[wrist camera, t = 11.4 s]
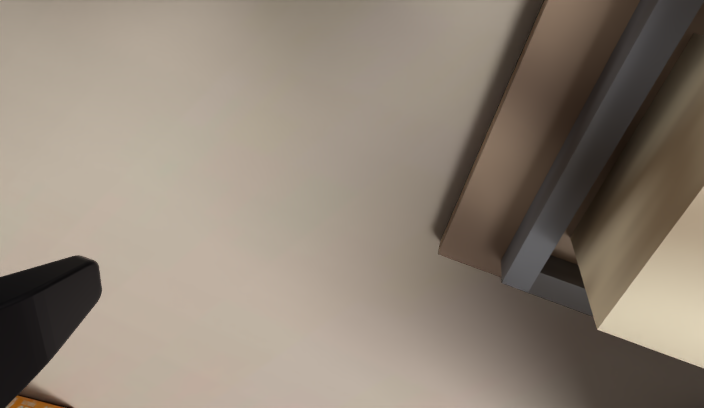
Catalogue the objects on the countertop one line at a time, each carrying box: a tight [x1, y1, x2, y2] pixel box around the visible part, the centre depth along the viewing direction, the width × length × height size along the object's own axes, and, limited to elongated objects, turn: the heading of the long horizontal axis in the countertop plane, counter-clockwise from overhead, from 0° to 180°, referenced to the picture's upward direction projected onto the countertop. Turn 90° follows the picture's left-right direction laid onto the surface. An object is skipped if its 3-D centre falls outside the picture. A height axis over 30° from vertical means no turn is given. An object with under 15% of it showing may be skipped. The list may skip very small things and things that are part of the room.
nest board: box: [438, 0, 704, 316], centre depth 14 cm, size 13×13×2 cm
